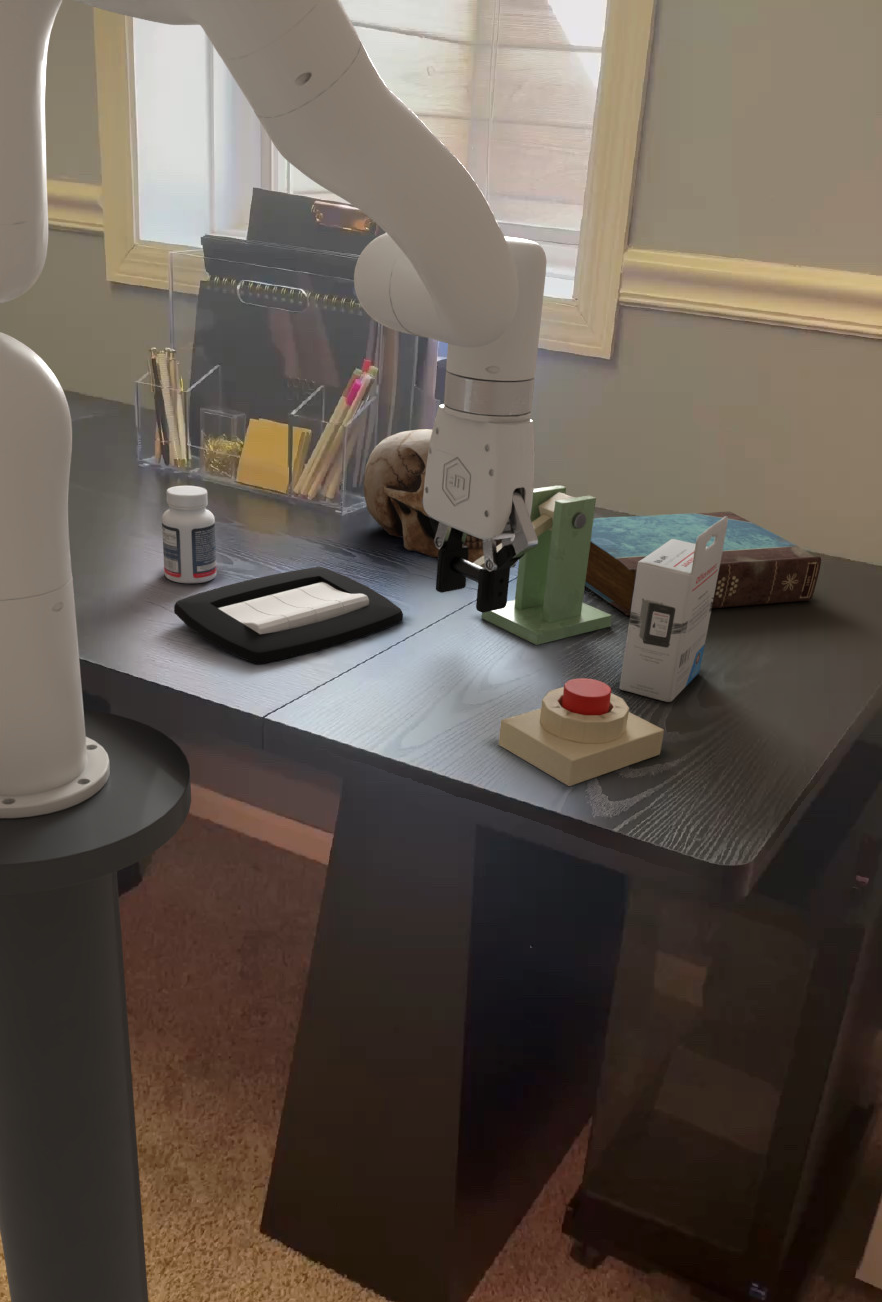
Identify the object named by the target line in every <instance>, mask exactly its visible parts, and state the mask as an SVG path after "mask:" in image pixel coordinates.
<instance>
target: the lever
mask: <svg viewBox="0 0 882 1302" xmlns="http://www.w3.org/2000/svg"><path fill="white" fill-rule="evenodd" d="M569 498H575V497H574V496H572V495H568V494H563V493H560V492H558V493H557V494H556V495H554V496H553V497H551V498H550V499H548V500H547V501H545V502H544V503H542V504H541V505H539V506H538V507H539V512H540V517H539V518H537V519H536V520H534V521H533V522H532V525H533V527H534V530H535V533H536V535H537V537H538V536H539V535H541V534H542V533H543V532H545V531H546V530H550V531H552V524H553V515H554V507H555V501H557V500H563V499H569ZM514 538H515V533H514ZM501 548H502V543H501V544H499V545H498V546H496V549H497V552H498V551H499V550H500V549H501ZM450 568H451V570H452V571H453V572H455V573H457V574H460V575H462V576H464V577H466V579H468V580H471V581H472V582H475V583H477V584H478V579H479V571H480V569H481V568H486V567H485V561H484V555H483V556H482V557H480V558H479V559H477V560H476V561H475V562H473V563H472V562H469V561H467V560H465V559H463V558H460V557H455V558H453V559H452V561H451V563H450Z"/></svg>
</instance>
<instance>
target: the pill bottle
mask: <svg viewBox="0 0 882 1302" xmlns="http://www.w3.org/2000/svg"><path fill="white" fill-rule="evenodd" d="M165 494H166V503H167V506H168V507H169V508H168V509H166V510H165V511H164V512H163V514H162V515H161V531H162V532H161V534H162V552H163V571H164V576H165V577H166V579H168V580H170V581H172V582H174V583H179V584H202V583H206V582H210V581H212V580H213V579H215V578H216V576H217V570H218V569H217V568H218V567H217V546H216V541H217V540H216V519H215V518H216V517H215V515H214V514H213V512H211V510H209V509H207V506H208V505H209V501H208V500H209V499H208V498H209V497H208V490H207V489H206V488H205V487H202V486H195V485H176V486H175V485H174V486H171V487H168V488H167V489H166V493H165Z"/></svg>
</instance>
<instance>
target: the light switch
mask: <svg viewBox="0 0 882 1302" xmlns="http://www.w3.org/2000/svg"><path fill="white" fill-rule="evenodd" d="M173 612H174V614H175V615H176V617H178V618H179V619H180V620H181V621H182V622H183V623H184V624H185V625H186V626H187V627H188V628H190V629H191V630H192V631H194V632H195V633H196V634H197V635H199V636H201V637H202V638H203V639H205V640H206V641H208V642H209V643H211V644H213V645H215V646H217V647H218V648H220V649H222V650H223V651H226V652H228V653H230V654H232V655H234V656H237V657H238V658H241V659H243V660H245V661H248V662H249V663H252V664H266V663H271V662H276V661H280V660H285V659H289V658H293V657H298V656H302V655H306V654H311V653H314V652H319V651H322V650H326V649H328V648H333V647H335V646H340V645H344V644H346V643H349V642H352V641H356V640H358V639H361V638H364V637H367V636H369V635H372V634H374V633H377V632H380V631H383V630H385V629H389V628H390V627H393V626H394V625H397V624H400V623H402V621H403V620H404V613H403V610H402V609H401V608H400V606H397V605H396V604H395V603H394V602H393V601H391V600H390V599H388V598H387V597H386V596H384V595H383V594H380V593H379V592H377V591H376V590H374V589H372V588H371V587H369V586H367V585H365V584H363V583H361V582H359V581H357V580H355V579H352V578H350V577H349V576H346V575H344V574H342V573H338V572H337V571H334V570H332V569H329V568H326V567H322V566H316V567H309V568H302V569H296V570H291V571H285V572H279V573H275V574H270V575H266V576H265V575H264V576H261V577H256V578H252V579H247V580H243V581H238V582H235V583H232V584H228V585H223V586H220V587H217V588H213V589H210V590H206V591H203V592H199V593H197V594H194V595H193V594H192V595H190V596H187V597H185V598H182V599H179V600H176V602H175V604H174V606H173Z"/></svg>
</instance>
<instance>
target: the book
mask: <svg viewBox="0 0 882 1302" xmlns="http://www.w3.org/2000/svg"><path fill="white" fill-rule="evenodd" d="M725 516H727V517H728V523H727V529H726V535H725V540H724V545H723V550H722V557H721V562H720V567H719V572H718V577H717V583H716V588H715V593H714V598H713V603H712V608H711V609H723V608H734V607H735V608H736V607H744V606H746V607H747V606H758V605H770V604H781V603H782V604H784V603H795V602H805V601H811V600H812V598H813V596H814V592H815V589H816V586H817V582H818V578H819V574H820V570H821V565H822V557H821V556H819V555H817V556H814V555H812V554H811V553H810V552H808V551H806V550H805V549H804V548H802V547H800V546H799V545H796V544H795V543H793V542H791V541H790V540H787V539H785V538H784V537H781V536H780V535H778V534H776V533H774V532H773V531H770V530H768V529H766V528H764V527H762V526H760V525H758V524H756V523H754V522H752V521H750V520H748V519H746V518H744V517H742V516H740V515H738V514H737V513H734V512H731V511H712V512H711V511H710V512H689V513H673V514H671V513H670V514H652V515H651V514H650V515H632V516H609V517H594V519H593V527H592V534H591V542H590V550H589V557H588V565H587V573H586V580H585V587H586V588H587V589H588V590H589V591H591V592H592V593H594V594H596V595H597V596H598V597H600V598H601V599H603V600H604V601H605V602H607V603H608V604H610V605H611V606H613V607H615V608H616V609H618V610H619V611H621V612H622V613H623V614H624V615H625V616H630V613H631V607H632V600H633V594H634V587H635V580H636V573H637V566H638V562H639V561H640V560H642V559H643V558H645V557H646V556H648V555H649V554H651V553H652V552H654V551H655V550H656V549H658V548H659V547H661V546H662V545H664V544H665V543H667V542H668V541H669V540H671V539H676V540H680V541H684V542H689V543H693V544H696V540H697V537H698V536H699V535H700V534H702V533H703V532H704V531H706V530H707V529H708V528H709V527H711V526H712V525H714V524H715V523H717V522H718V521H720V520H721V519H723V518H724V517H725ZM714 540H715V537H712V536H711V539H710V541H708V542H707V544H706V547H709V546H710V545H712V544H713V542H714Z"/></svg>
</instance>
